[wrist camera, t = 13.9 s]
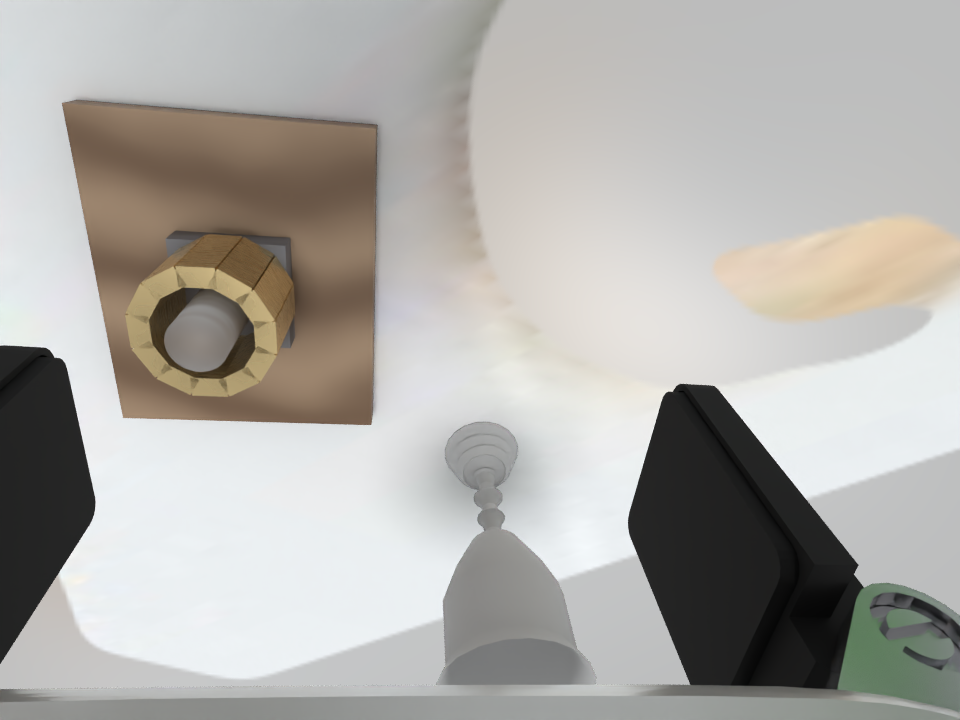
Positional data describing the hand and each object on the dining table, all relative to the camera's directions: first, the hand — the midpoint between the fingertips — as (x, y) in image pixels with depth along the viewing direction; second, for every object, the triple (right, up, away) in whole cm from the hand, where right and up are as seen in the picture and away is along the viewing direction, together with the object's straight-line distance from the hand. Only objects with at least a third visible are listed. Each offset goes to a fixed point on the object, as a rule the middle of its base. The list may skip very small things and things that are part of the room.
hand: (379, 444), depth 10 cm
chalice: (+2, -5, +34) cm, 35 cm away
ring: (-12, +5, +24) cm, 27 cm away
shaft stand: (-12, +6, +27) cm, 30 cm away
